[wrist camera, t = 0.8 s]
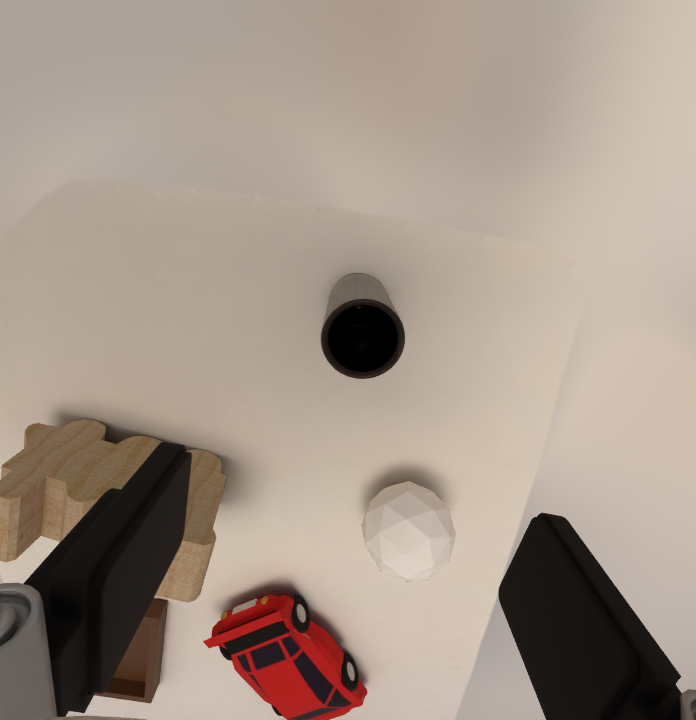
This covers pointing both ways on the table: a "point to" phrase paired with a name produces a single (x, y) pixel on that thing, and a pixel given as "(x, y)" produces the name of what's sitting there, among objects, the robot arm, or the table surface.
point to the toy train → (100, 494)
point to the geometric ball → (408, 532)
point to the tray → (141, 659)
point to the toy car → (288, 658)
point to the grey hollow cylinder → (361, 328)
